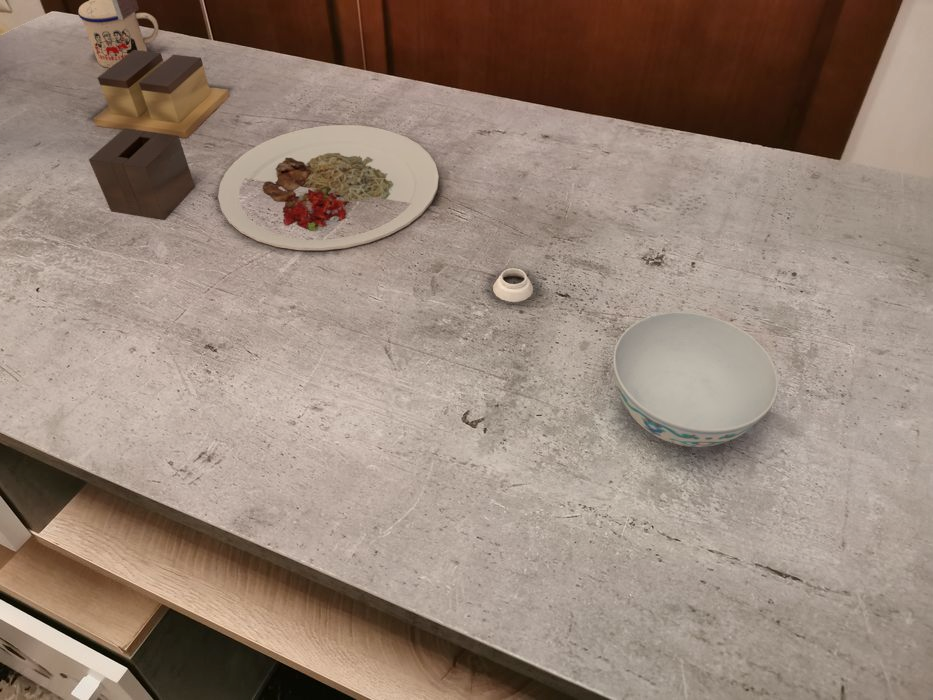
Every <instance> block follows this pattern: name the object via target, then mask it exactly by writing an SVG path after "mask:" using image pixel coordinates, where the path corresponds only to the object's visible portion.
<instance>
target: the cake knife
mask: <svg viewBox="0 0 933 700" xmlns="http://www.w3.org/2000/svg"><path fill="white" fill-rule="evenodd" d="M112 2H113V5H114V8H115V11H116V13H117V16H118V19H119V20H124V19H126V18H127V17H128V16H130V15H131V14H133V13H134V12H135V13H136V12H137V11H139V10H140V7H139V6H138V2H137V0H112Z"/></svg>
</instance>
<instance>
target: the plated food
mask: <svg viewBox="0 0 933 700" xmlns="http://www.w3.org/2000/svg"><path fill="white" fill-rule="evenodd" d="M245 179H247V180H251V181H252V180H254V181H260V182H264V184H262V190H263V193H264V194H266V195H267V196H269V197H270V198H271V199H272V200H273V201H274V202H279V203H285V204H284V207H282V214H283V215H282V216H283V220H282V222H283V223H284V226H285V227H286V226H291V225H292V224H295V223H296V225H298V227H300V228H303V229H305V230H310V231H311V232H320V231H323V230H324V229H326V227H327V226H330V225H331V224H332V223H333V224H335V223H338V222H341V221H342V220H345V219H346V217H347V216H346V214H347V211H346V208H345V207H346V205H349V206H354V204H353V203H354V202H357V201H358V203H361V202H362V201H367V198H370V199H373V198H375V199H381V200H387V201H388V200H389V201H394V202H395V201H396V202H401V203H409V205H408V206H407V207H406V209H405V210H404V211H402V212H400V214H398V215H397V216H396V217H395V218H393V219H392V220H390V221H388V222H386V223H384V224H382V225H380V226H379V227H376V228H373V229H370V230H368V231H365V232H362V233H358V234H353V235H350V236H345V237H336V238H327V239H305V238H298V237H291V236H286V235H282V234H279V233H276V232H272V231H269V230H268V229H265V228H264V227H262V226H260V225H258V224H257V223H256V222H254V221H253V220H252V219H251V218H249V216H248V215H247V214H246V212H245V211H244V210H243V208H242V204H241V201H240V200H241V199H240V192H241V187H242V185H243V183H244V180H245ZM280 187H281V188H282V189H281V188H280ZM300 187H301V188H307V189H308V190H307V192H305V193H303V194H299V195H297V194H296V192H295V191H296V190H297V189H299V188H300ZM438 187H439V171H438V168H437V164H436V162H435V161H434V159H433V157H432V156H431V154H430V153H429V152H428V151H427V150H425V149H424V148H423V146H421V144H419V143H417V142H415V141H414V140H412V139H410V138H408V137H407V136H404V135H403V134H402V135H401V134H400V133H397V132H393V131H391V130H387V129H382V128H378V127H374V126H366V125H357V124H333V125H331V124H330V125H321V126H312V127H308V128H303V129H298V130H294V131H290V132H287V133H284V134H281V135H278V136H275V137H272V138H270V139H268V140H266V141H263V142H261V143H259V144H257V145H256V146H254V147H252V148H251V149H249V150H247V151H246V152H245V153H243V154H242V155H241V156H240V157H238V158H237V159H236V160H235V161H234V162H233V163H232V164H231V165H230V167H228V169H227V170H226V171H225V173H224V174H223V176H222V179H221V181H220V183H219V187H218V193H217V194H218V195H217V199H218V202H219V207H220V211H221V212H222V213H221V214H223V215H224V217H225V219H226V220H227V222H228V223H229V224H230V225H231V226H233V228H235V229H236V230H237V231H238V232H240V234H243V235H245V236H247V237H249V238H250V239H252V240H254V241H257V242H259V243H262V244H265V245H269V246H273V247H276V248H283V249H287V250H288V249H289V250H296V251H330V250H340V249H348V248H352V247H357V246H361V245H365V244H369V243H371V242H375V241H378V240H380V239H383V238H386V237H388V236H391V235H393V234H394V233H397V232H398V231H400V230H402V229H403V228H405V227H408V226H409V225H410V224H411V223H412V222H414V221H415V220H417V218H419V217H420V216H422V215H423V213H424V212H425V211H426V210H427V209H428V208H429V206H430V205H431V204H432V203H433V200H434V198H435V196H436V194H437V192H438ZM311 189H312V190H311ZM332 217H333V220H330V219H331V218H332Z"/></svg>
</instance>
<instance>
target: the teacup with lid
mask: <svg viewBox="0 0 933 700" xmlns="http://www.w3.org/2000/svg"><path fill="white" fill-rule="evenodd" d="M78 17H79V18H80V19H81V21H82V24H83V26H84V30H85V31H86V34H87V37H88V39H89V42H90V44H91V48H92V50H93V53H94V56H95V58H96V61H97V63H98V64H99V65H100V66H102V67H104V68H106V69H109V68H111V67H112V66H113V65H115V64H116V63H117V62H119V61H120V60H121V59H123V58H124V57H125V56H126V55H128V54H129V53H130V52H132V51H133V50H139V51H148V50H147V46H146V44H149V43H152V42H153V41H155V40H156V39H157V37H158V34H159V24H158V21H157V19H156V18H155V17H154V16H153V15H151V13H147V12H137V13H136V12H134V13H133V14H131V15H130V16H128V17H127V18H126V19H124V20H119V19H118V16H117V13H116V11H115V8H114V5H113V2H112V0H88V1H85V2H83V3H82V4H81V5H80V6H79V8H78ZM140 19H146V20H149V21H150V22H151V23H152V25H153V28H154V29H153V33H152V34H151V35H149V36H147V37H144V36H143V34H142V30H141V27H140V24H139V21H138V20H140Z"/></svg>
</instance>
